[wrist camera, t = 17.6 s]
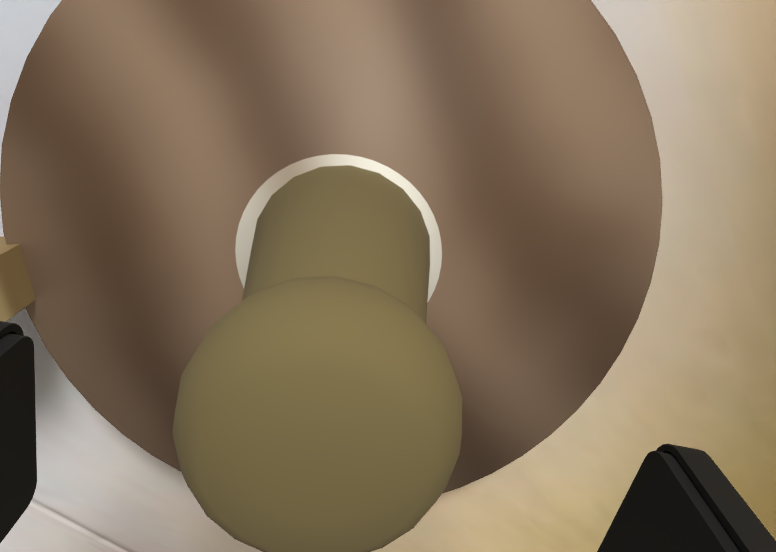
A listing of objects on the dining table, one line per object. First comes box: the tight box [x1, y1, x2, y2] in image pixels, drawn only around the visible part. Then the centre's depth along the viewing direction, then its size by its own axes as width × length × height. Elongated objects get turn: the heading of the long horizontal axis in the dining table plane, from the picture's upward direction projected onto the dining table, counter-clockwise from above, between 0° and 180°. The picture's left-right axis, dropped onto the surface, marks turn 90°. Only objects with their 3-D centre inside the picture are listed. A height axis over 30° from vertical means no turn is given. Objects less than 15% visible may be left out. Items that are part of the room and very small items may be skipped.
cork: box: [173, 165, 462, 552], centre depth 14 cm, size 6×6×11 cm
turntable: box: [0, 0, 662, 493], centre depth 18 cm, size 23×22×5 cm
